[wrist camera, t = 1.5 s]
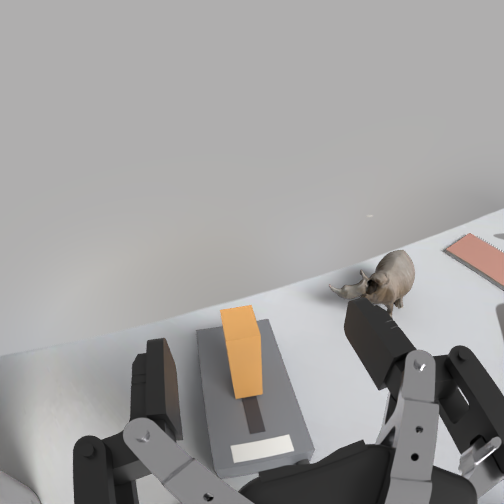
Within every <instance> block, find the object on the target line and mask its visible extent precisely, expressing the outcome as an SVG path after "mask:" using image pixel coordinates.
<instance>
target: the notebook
mask: <svg viewBox="0 0 504 504" xmlns="http://www.w3.org/2000/svg"><path fill="white" fill-rule="evenodd" d="M446 250H447V255H449V256H451V257H452V258H454V259H455V260H457V261H459V262H460V263H462V264H464V265H465V266H467V267H468V268H470V269H471V270H473V271H475V272H476V273H478V274H479V275H481V276H482V277H484V278H485V279H487V280H488V281H490V282H491V283H493V284H494V285H496V286H497V287H499V288H500V289H502V290H503V291H504V251H503V252H502V250H501V251H500V249H499V250H498V248H496V246H495V247H494V245H493V246H492V244H491V245H490V243H489V244H488V242H486V240H485V241H484V239H483V240H482V238H481V239H480V237H479V238H478V236H474V235H472V234H471V233H469V234H467V235H466V236H465V237H463V238H462V239H460V240H459V241H457V242H456V243H454V244H453V245H452V246H450V247H449V248H447V249H446Z"/></svg>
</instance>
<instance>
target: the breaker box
mask: <svg viewBox="0 0 504 504" xmlns="http://www.w3.org/2000/svg"><path fill="white" fill-rule="evenodd" d="M256 322H257V325H258V328H259V331H260V335H261V358H262V388H263V394H261V395H256V396H250V397H245V398H239V399H236V398H235V393H234V388H233V383H232V378H231V373H230V368H229V362H228V356H227V350H226V344H225V338H224V332H223V326H222V327H216V328H209V329H202V330H196V331H197V342H198V352H199V362H200V371H201V380H202V388H203V396H204V404H205V412H206V419H207V426H208V433H209V439H210V446H211V452H212V458H213V464H214V470H215V472H216V473H217V475H218V477H219V478H220V479H223V478H231V477H237V476H244V475H250V474H255V473H259V472H260V471H264V470H269V469H273V468H277V467H281V466H285V465H296V462H298V461H300V460H303V459H308V460H309V461H310V460H311V458H312V455H313V453H314V451H315V449H314V446H313V443H312V440H311V438H310V435H309V432H308V429H307V427H306V424H305V421H304V418H303V415H302V413H301V410H300V407H299V404H298V401H297V399H296V396H295V393H294V390H293V387H292V385H291V382H290V379H289V376H288V373H287V371H286V368H285V365H284V362H283V359H282V357H281V354H280V351H279V348H278V345H277V342H276V340H275V337H274V334H273V331H272V328H271V325H270V323H269V320H268V319H265V320H259V321H256Z"/></svg>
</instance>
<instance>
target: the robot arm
mask: <svg viewBox="0 0 504 504" xmlns="http://www.w3.org/2000/svg"><path fill="white" fill-rule="evenodd" d="M344 331H345V335H346V337H347V339H348V340H349V342H350V344H351V345H352V347H353V349H354V350H355V352H356V353H357V355H358V357H359V358H360V360H361V362H362V363H363V365H364V367H365V368H366V370H367V372H368V373H369V375H370V377H371V378H372V380H373V382H374V383H375V385H376V387H377V388H378V390H381V389H384V388H386V387H387V388H388V389H389V393H388V397H387V403H386V408H385V413H384V418H383V423H382V427H381V430H380V433H379V435H378V437H377V440H376V443H375V444H366V445H365V443H364V441H363V440H360V441H358V442H355V443H353V444H350V445H348V446H345V447H342V448H340V449H338V450H336V451H335V452H333V453H332V454H330V455H329V456H327V457H325V458H324V459H322V460H320V461H319V462H317V463H314V464H301V465H285V466H281V467H277V468H273V469H269V470H264V471H260V472H259V477H257V478H255V479H253V480H252V481H250V482H248V483H247V484H246V485H245V486H243V487H242V488H241V489H240V490H239V491H238V492H237V491H236V490H234V489H233V488H232V487H230V486H229V485H228V484H226V483H225V482H224V481H222V480H221V479H220V478H219V477H217V476H216V475H215V474H213V473H212V472H211V471H210V470H209V469H207V468H206V467H205V466H204V465H202V464H201V463H200V462H199V461H197V460H196V459H195V458H192V457H191V456H190V455H188V454H187V453H186V452H185V451H184V450H183V449H182V448H181V447H180V446H178V445H177V444H176V440H183V435H182V426H181V417H180V407H179V396H178V384H177V372H176V366H175V362H174V359H173V357H172V354H171V352H170V349H169V346H168V344H167V341H166V339H165V338H160V339H153V340H148V341H147V350H146V353H143V354H138V355H137V357H136V359H135V361H134V362H133V364H132V382H131V384H132V386H131V412H130V421H129V423H128V424H127V425H126V426H125V428H124V430H123V431H122V432H120V433H118V434H116V435H113V436H111V437H108V438H105V439H102V440H100V439H99V438H97V437H95V436H84V437H82V438H80V439H79V440H78V441H77V442H76V444H75V446H74V449H73V483H74V503H75V504H139V501H138V495H137V488H136V479H138V478H141V477H144V476H147V475H149V474H152V473H153V474H154V475H155V476H156V477H157V478H158V479H159V481H160V482H161V483H162V484H163V486H164V487H165V488H166V489H167V490H168V491H169V492H170V493H171V494H173V495H174V496H175V497H176V498H177V499H178V500H179V501H180V502H181V503H182V504H477V499H478V498H480V497H481V496H482V495H484V494H485V493H486V492H488V491H489V490H490V489H491V488H493V487H494V486H495V485H496V484H498V483H499V482H500V481H502V480H504V396H503V394H502V393H501V391H500V390H499V388H498V387H497V385H496V384H495V382H494V381H493V380H492V378H491V377H490V375H489V374H488V373H487V371H486V370H485V368H484V367H483V366H482V364H481V363H480V361H479V360H478V359H477V357H476V356H475V355H474V353H473V352H472V351H471V350H470V349H469V348H467V347H465V346H455V347H453V348H452V349H451V351H450V352H449V354H448V355H441V356H432V355H431V354H429V353H428V352H426V351H423V350H417V349H416V348H415V347H414V346H413V344H412V343H411V342H410V340H409V339H408V338H407V337H406V335H405V334H404V333H403V331H402V330H401V329H400V328H399V327H398V325H397V324H396V323H395V321H393V319H392V318H391V316H390V315H389V314H388V313H387V311H385V310H384V309H382V308H381V307H379V306H378V305H376V306H373V305H372V304H371V302H370V301H369V300H368V299H367V298H366V297H363V298H359V299H355V300H352V301H349V303H348V307H347V313H346V318H345V323H344ZM458 387H459V388H460V389H461V391H462V392H463V394H464V396H465V397H466V399H467V400H468V402H469V405H468V404H467V402H466V400H465V399H464V397H463V396H462V394H461V393H460V391H459V389H458ZM439 415H440V417H441V418H442V420H443V422H444V424H445V426H446V427H447V429H448V431H449V433H450V435H451V437H452V438H453V440H454V442H455V444H456V446H457V448H458V450H459V452H460V454H461V457H460V465H459V467H458V470H459V472H460V473H462V476H460V475H457V474H455V473H452V472H449V471H446V470H444V469H441V468H439V467H436V466H433V461H434V454H435V447H436V439H437V430H438V419H439ZM0 504H41V503H40V501H39V499H38V497H37V496H36V494H35V493H34V492H33V491H32V490H31V489H30V488H29V487H28V486H26V485H25V484H23V483H21V482H19V481H18V480H16V479H14V478H13V477H11V476H9V475H8V474H6V473H5V472H3V471H2V470H0Z"/></svg>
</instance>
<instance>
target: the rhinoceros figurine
mask: <svg viewBox="0 0 504 504" xmlns="http://www.w3.org/2000/svg"><path fill="white" fill-rule="evenodd" d="M360 274H361V275H362V277H363V279H362V280H361V281H360V282H359V283H358V284H355V285H344V286H343V287H342V288H341V289H337V288H334V287H332V286H331V285H330V284H329V287H330V288H331V290H332V291H333V292H335V293H337V294H338V295H339V296H340V297H342V298H345V299H352V298H355V297H359V296H361V295H362V296H361V297H360V298H363V297H366V298H367V299H368V300H369V301H370V302H371V303H372V304H384V305H385V306H386V307H387V308H388V309H387V313H388V314H389V315H390V316H391V318H392V311H393V303H394V302H395V306H396V307H398V308H403V302H402V298H403V296H404V295H406V294H407V293H408V292H409V291H410V289H411V287H412V285H413V282H414V278H415V270H414V265H413V262H412V260H411V258H410V257H409V255H408V254H407V253H406V252H405V251H404V250H397V251H393V252H390V253H389V254H387V255H386V256H384V258H383V259H382V260H381V261H380V262H379V264H378V266H377V267H376V271H375V273H374V274H372V275H371V277H370V278H368V277H367V276H366V275H365V274H364V272H363V271H362V270H361V271H360Z"/></svg>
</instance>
